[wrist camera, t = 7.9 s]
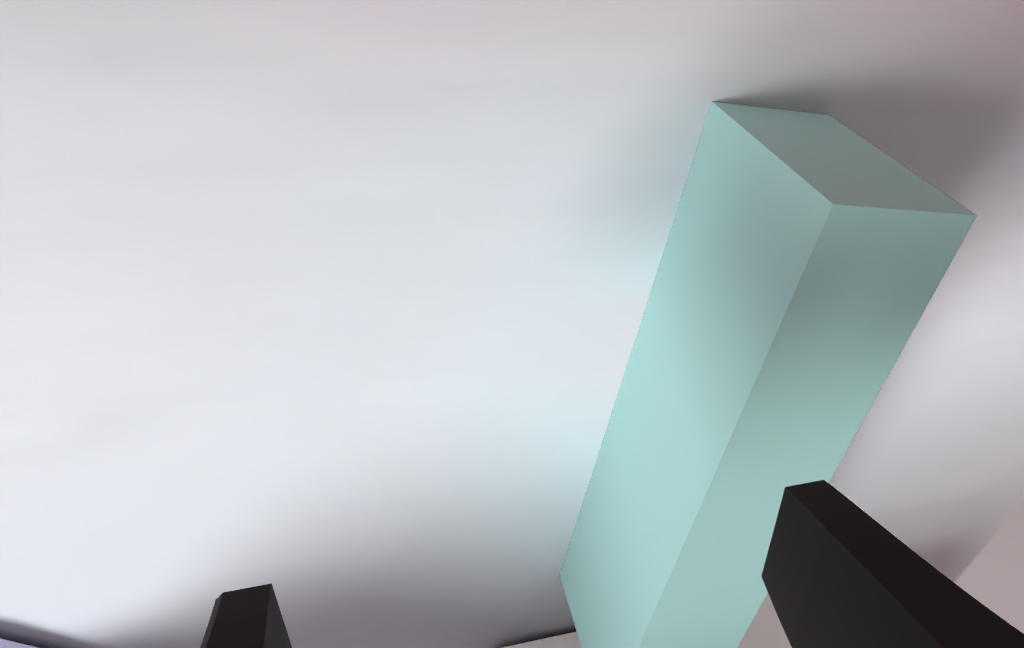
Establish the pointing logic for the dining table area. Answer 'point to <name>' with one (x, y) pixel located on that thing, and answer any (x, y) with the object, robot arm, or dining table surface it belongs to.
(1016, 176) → the dining table surface
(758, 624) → the white box
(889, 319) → the mint green rectangular block
